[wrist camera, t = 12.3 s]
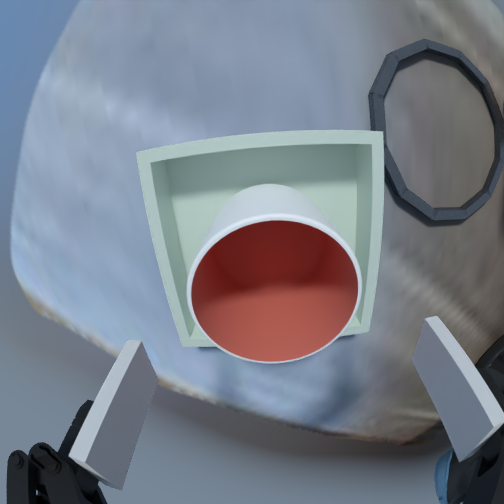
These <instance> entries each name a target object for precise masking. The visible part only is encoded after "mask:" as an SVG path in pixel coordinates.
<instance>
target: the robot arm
mask: <svg viewBox="0 0 504 504" xmlns="http://www.w3.org/2000/svg"><path fill="white" fill-rule="evenodd" d="M411 361H412V362H413V364H414V366H415V368H416V370H417V372H418V374H419V376H420V378H421V379H422V381H423V383H424V385H425V387H426V389H427V391H428V393H429V395H430V397H431V399H432V401H433V403H434V406H435V408H436V410H437V412H438V414H439V416H440V418H441V420H442V423H443V425H444V427H445V429H446V432H447V434H448V436H449V439H450V441H451V443H452V446H453V448H452V449H451V450H450V451H448V452H447V453H445V454H444V455H442V456H441V457H440V458H439V459H438V461H437V463H436V466H435V471H434V481H435V488H436V493H437V496H438V497H439V502H440V503H441V504H504V336H503V337H501V338H500V339H499V340H498V341H497V342H495V343H494V344H493V345H492V346H491V347H490V348H489V349H488V351H487V352H486V353H485V354H484V355H483V356H482V358H481V359H480V360H479V361H478V363H477V364H476V365H475V366H474V365H473V363H472V362H471V360H470V359H469V357H468V356H467V355H466V353H465V352H464V350H463V349H462V348H461V346H460V345H459V344H458V342H457V341H456V340H455V338H454V337H453V336H452V334H451V333H450V332H449V330H448V329H447V328H446V326H445V325H444V324H443V323H442V321H441V320H440V319H439V318H438V316H434V317H429V318H425V319H424V323H423V326H422V330H421V333H420V336H419V339H418V342H417V345H416V348H415V351H414V354H413V357H412V360H411ZM158 381H159V380H158V378H157V375H156V373H155V371H154V369H153V367H152V365H151V362H150V360H149V358H148V355H147V353H146V351H145V348H144V346H143V344H142V341H134V340H127V342H126V344H125V345H124V347H123V349H122V351H121V353H120V354H119V356H118V358H117V360H116V362H115V363H114V365H113V367H112V369H111V371H110V373H109V374H108V376H107V378H106V380H105V382H104V384H103V386H102V388H101V390H100V391H99V393H98V395H97V397H96V399H95V401H91V400H87V401H86V402H85V403H84V404H83V405H82V406H81V407H80V409H79V410H78V412H77V414H76V416H75V417H76V418H75V419H74V420H73V422H72V426H70V428H69V430H68V432H67V434H66V436H65V439H64V440H63V442H62V444H61V447H60V449H59V451H58V452H56V451H55V450H54V449H52V447H51V446H49V445H48V444H46V443H43V442H42V443H37V444H35V445H34V446H33V447H32V448H31V449H30V451H29V454H28V455H27V454H25V453H24V452H23V451H21V450H16V451H14V452H12V453H11V455H10V456H9V459H8V467H7V504H107V502H106V500H105V498H104V496H103V493H102V491H101V489H100V487H99V486H98V482H99V481H101V482H102V483H103V484H105V485H106V486H109V487H112V488H115V489H119V490H122V488H123V485H124V481H125V478H126V475H127V472H128V469H129V465H130V462H131V459H132V456H133V453H134V450H135V447H136V443H137V441H138V438H139V435H140V432H141V429H142V426H143V423H144V420H145V417H146V414H147V411H148V408H149V406H150V403H151V400H152V397H153V394H154V392H155V389H156V386H157V383H158ZM36 490H37V491H38V495H36Z"/></svg>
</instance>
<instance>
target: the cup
mask: <svg viewBox="0 0 504 504" xmlns="http://www.w3.org/2000/svg"><path fill="white" fill-rule="evenodd" d="M361 294H362V276H361V270H360V267H359V263H358V261H357V258H356V256H355V254H354V253H353V251H352V249H351V248H350V246H349V245H348V244H347V242H346V241H345V240H344V239H343V237H342V236H341V235H340V234H339V232H338V231H337V230H336V229H335V227H334V226H333V225H332V224H331V222H330V221H329V220H328V219H327V217H326V216H325V215H324V214H323V213H322V211H321V210H320V209H319V208H318V207H317V205H316V204H315V203H314V202H313V201H312V200H311V199H310V198H309V197H307V196H306V195H305V194H303V193H301V192H300V191H298V190H296V189H293V188H291V187H287V186H284V185H278V184H262V185H256V186H252V187H249V188H246V189H244V190H242V191H240V192H238V193H236V194H235V195H234V196H232V197H231V198H229V199H228V200H227V201H226V202H225V203H224V204H223V206H222V207H221V208H220V209H219V211H218V212H217V214H216V216H215V218H214V220H213V222H212V224H211V226H210V228H209V230H208V232H207V234H206V236H205V238H204V240H203V242H202V244H201V246H200V249H199V251H198V253H197V255H196V257H195V259H194V261H193V264H192V266H191V268H190V272H189V275H188V280H187V302H188V307H189V310H190V313H191V316H192V318H193V320H194V322H195V324H196V326H197V327H198V328H199V330H200V331H201V333H202V334H203V335H204V336H205V337H206V338H207V339H208V340H209V341H210V342H211V343H212V344H214V345H215V346H216V347H218V348H219V349H221V350H222V351H224V352H226V353H228V354H230V355H232V356H234V357H237V358H240V359H243V360H247V361H251V362H256V363H267V364H275V363H285V362H292V361H296V360H300V359H303V358H306V357H308V356H311V355H313V354H315V353H317V352H319V351H321V350H323V349H324V348H326V347H327V346H329V345H330V344H331V343H333V342H334V341H335V340H336V339H337V338H338V337H339V336H340V335H341V334H342V333H343V332H344V331H345V330H346V329H347V327H348V326H349V324H350V323H351V321H352V320H353V318H354V316H355V314H356V312H357V309H358V307H359V304H360V299H361Z"/></svg>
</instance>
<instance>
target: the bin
mask: <svg viewBox="0 0 504 504" xmlns="http://www.w3.org/2000/svg"><path fill="white" fill-rule="evenodd" d="M136 154H137V161H138V168H139V174H140V180H141V186H142V191H143V197H144V202H145V207H146V212H147V217H148V222H149V227H150V231H151V236H152V240H153V244H154V249H155V253H156V257H157V261H158V265H159V269H160V273H161V277H162V280H163V284H164V288H165V291H166V295H167V298H168V302H169V305H170V309H171V312H172V315H173V319H174V322H175V325H176V328H177V331H178V335H179V338H180V341H181V344H182V347H216V346H215V345H214V344H212V343H211V342H210V341H209V340H208V339H207V338H206V337H205V336H204V335H203V334H202V333H201V331H200V330H199V328H198V327H197V326H196V324H195V322H194V320H193V318H192V316H191V313H190V310H189V307H188V302H187V280H188V275H189V272H190V268H191V266H192V264H193V261H194V259H195V257H196V255H197V253H198V251H199V249H200V246H201V244H202V242H203V240H204V238H205V236H206V234H207V232H208V230H209V228H210V226H211V224H212V222H213V220H214V218H215V216H216V214H217V212H218V211H219V209H220V208H221V207H222V206H223V204H224V203H225V202H226V201H227V200H228V199H229V198H231V197H232V196H234V195H235V194H236V193H238V192H240V191H242V190H244V189H246V188H249V187H252V186H256V185H262V184H278V185H284V186H287V187H291V188H293V189H296V190H298V191H300V192H301V193H303V194H305V195H306V196H307V197H309V198H310V199H311V200H312V201H313V202H314V203H315V204H316V205H317V207H318V208H319V209H320V210H321V211H322V213H323V214H324V215H325V216H326V217H327V219H328V220H329V221H330V222H331V224H332V225H333V226H334V227H335V229H336V230H337V231H338V232H339V234H340V235H341V236H342V237H343V239H344V240H345V241H346V242H347V244H348V245H349V246H350V248H351V249H352V251H353V253H354V254H355V256H356V258H357V261H358V263H359V267H360V270H361V276H362V294H361V299H360V304H359V307H358V309H357V312H356V314H355V316H354V318H353V320H352V321H351V323H350V324H349V326H348V327H347V329H346V330H345V331H344V332H343V333H342V334H341V335H340V336H346V335H353V334H359V333H365V332H369V327H370V322H371V316H372V311H373V305H374V298H375V291H376V284H377V277H378V269H379V260H380V250H381V238H382V224H383V205H384V141H383V132H382V131H361V130H303V131H282V132H267V133H254V134H244V135H234V136H226V137H218V138H210V139H203V140H197V141H191V142H184V143H179V144H173V145H168V146H162V147H157V148H153V149H148V150H143V151H139V152H136Z"/></svg>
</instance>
